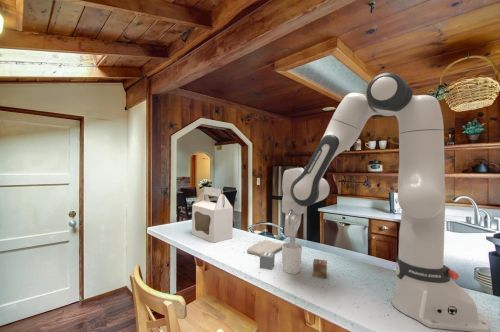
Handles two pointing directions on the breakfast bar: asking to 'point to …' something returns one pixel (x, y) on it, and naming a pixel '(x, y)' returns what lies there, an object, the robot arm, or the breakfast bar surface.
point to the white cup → (291, 257)
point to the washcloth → (264, 248)
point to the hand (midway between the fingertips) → (292, 242)
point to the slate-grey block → (267, 260)
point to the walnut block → (320, 268)
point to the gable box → (212, 216)
